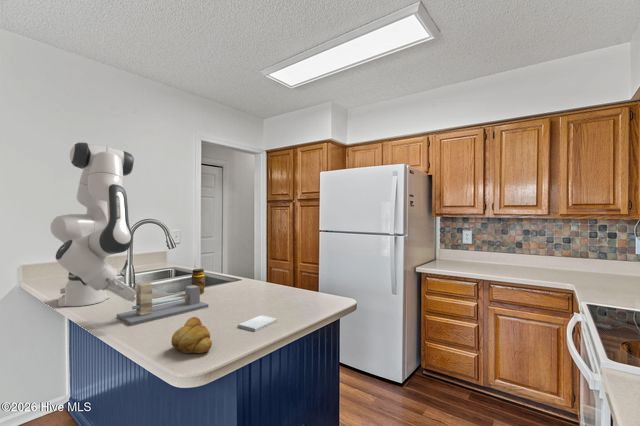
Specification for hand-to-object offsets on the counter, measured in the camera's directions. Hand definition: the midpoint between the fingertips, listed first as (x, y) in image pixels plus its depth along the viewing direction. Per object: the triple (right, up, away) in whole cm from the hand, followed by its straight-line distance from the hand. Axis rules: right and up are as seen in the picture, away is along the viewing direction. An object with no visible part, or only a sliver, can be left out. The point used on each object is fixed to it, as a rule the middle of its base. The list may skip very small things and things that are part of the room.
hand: (133, 299), depth 118 cm
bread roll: (+32, -8, -25) cm, 42 cm away
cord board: (+8, -7, +9) cm, 14 cm away
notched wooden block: (+2, -6, +3) cm, 7 cm away
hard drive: (+48, -9, -4) cm, 48 cm away
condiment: (+8, -8, +38) cm, 40 cm away
